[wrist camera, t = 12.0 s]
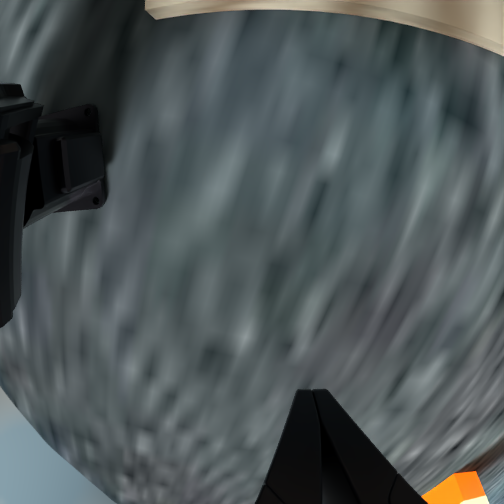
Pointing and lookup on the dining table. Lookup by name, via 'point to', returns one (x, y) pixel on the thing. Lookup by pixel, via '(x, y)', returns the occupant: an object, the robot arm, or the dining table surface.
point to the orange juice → (458, 490)
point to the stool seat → (373, 14)
